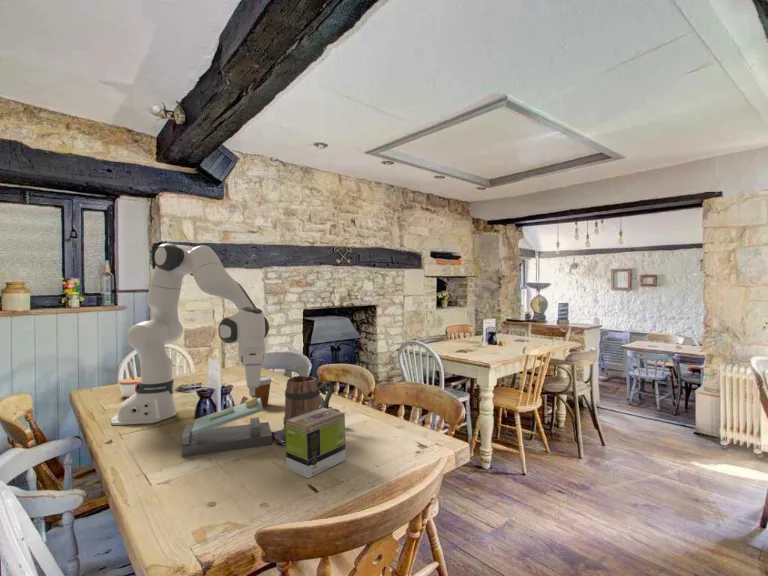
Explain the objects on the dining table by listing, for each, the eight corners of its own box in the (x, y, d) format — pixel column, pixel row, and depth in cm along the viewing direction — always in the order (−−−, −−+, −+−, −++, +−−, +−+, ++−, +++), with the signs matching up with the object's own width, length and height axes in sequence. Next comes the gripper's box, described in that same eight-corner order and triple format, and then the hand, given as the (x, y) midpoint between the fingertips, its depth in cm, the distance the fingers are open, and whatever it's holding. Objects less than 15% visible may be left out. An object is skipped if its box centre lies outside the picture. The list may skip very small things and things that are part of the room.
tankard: (289, 448, 130) (289, 387, 130) (270, 433, 144) (270, 377, 144) (351, 433, 144) (351, 377, 144) (328, 420, 158) (328, 369, 158)
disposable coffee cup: (267, 409, 171) (267, 381, 171) (245, 408, 172) (245, 380, 172) (274, 402, 181) (274, 375, 181) (253, 402, 181) (253, 375, 181)
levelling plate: (192, 435, 126) (189, 425, 126) (196, 422, 137) (193, 413, 137) (263, 410, 133) (260, 401, 133) (261, 400, 145) (258, 392, 144)
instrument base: (181, 456, 124) (181, 438, 124) (186, 440, 137) (186, 423, 137) (271, 444, 134) (271, 427, 134) (268, 430, 147) (268, 414, 147)
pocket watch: (334, 409, 172) (334, 385, 172) (330, 415, 163) (330, 390, 163) (316, 408, 172) (316, 385, 172) (310, 414, 164) (310, 390, 164)
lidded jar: (121, 394, 194) (121, 375, 194) (147, 391, 198) (147, 372, 198) (117, 400, 184) (117, 379, 184) (144, 397, 189) (144, 377, 189)
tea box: (323, 452, 128) (323, 406, 128) (346, 461, 121) (346, 412, 121) (284, 469, 116) (284, 418, 116) (307, 480, 110) (307, 426, 110)
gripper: (241, 350, 146) (241, 388, 147) (242, 360, 127) (243, 404, 127) (259, 349, 149) (259, 386, 149) (263, 359, 129) (263, 402, 130)
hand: (252, 395), depth 138 cm, fingers closed
